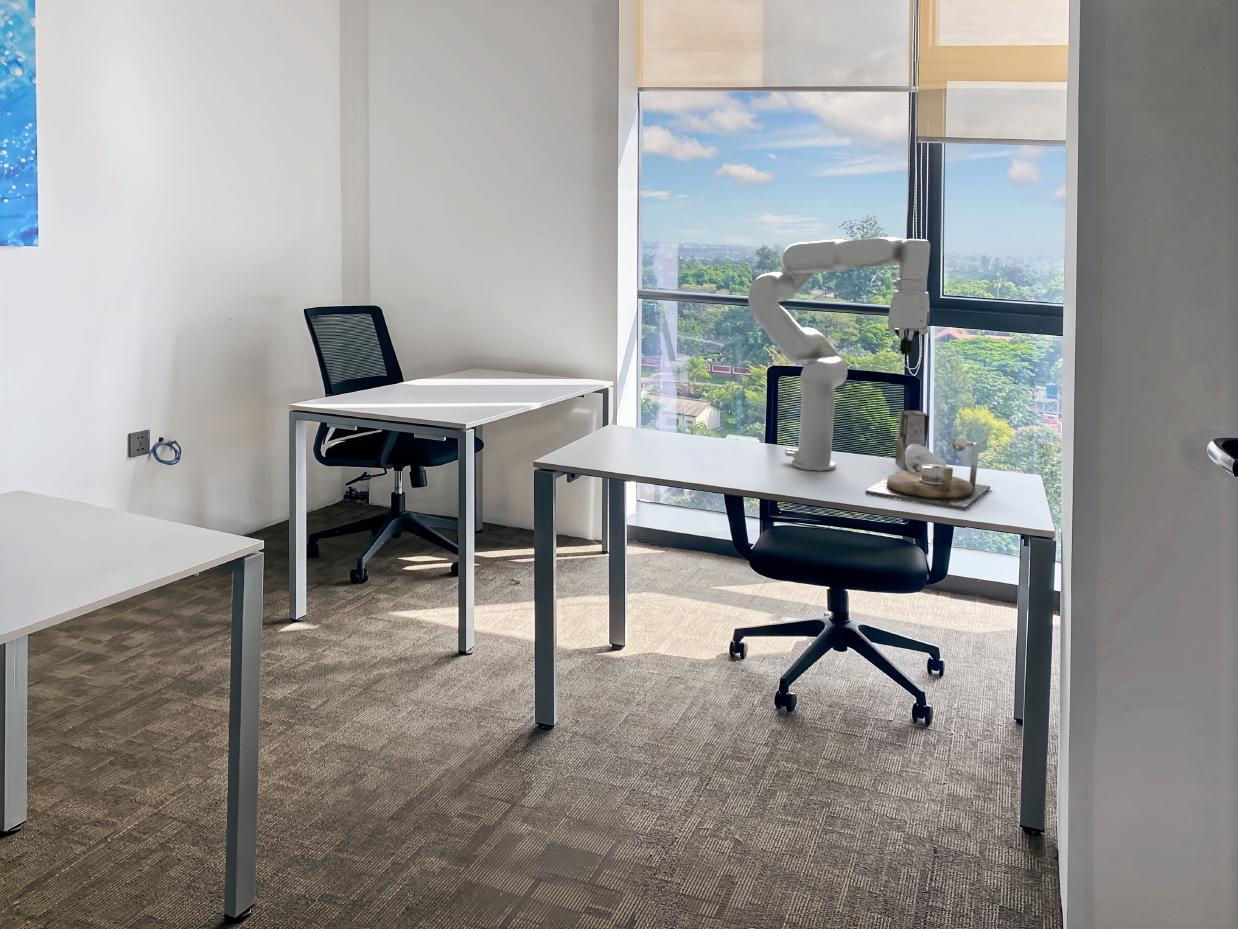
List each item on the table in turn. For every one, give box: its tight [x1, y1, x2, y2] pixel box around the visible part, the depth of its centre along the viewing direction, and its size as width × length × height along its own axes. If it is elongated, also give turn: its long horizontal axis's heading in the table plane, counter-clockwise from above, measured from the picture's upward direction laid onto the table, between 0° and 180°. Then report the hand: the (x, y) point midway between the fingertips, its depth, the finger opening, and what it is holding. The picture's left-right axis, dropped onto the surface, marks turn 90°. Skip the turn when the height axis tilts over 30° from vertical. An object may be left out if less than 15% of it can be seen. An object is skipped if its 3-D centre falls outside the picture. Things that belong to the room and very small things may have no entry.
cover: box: [919, 464, 947, 485], centre depth 278 cm, size 8×8×4 cm
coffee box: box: [894, 409, 930, 470], centre depth 306 cm, size 9×6×16 cm
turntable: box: [886, 466, 973, 498], centre depth 278 cm, size 22×22×7 cm
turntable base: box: [864, 437, 992, 511], centre depth 277 cm, size 26×26×14 cm
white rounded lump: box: [905, 444, 947, 472], centre depth 298 cm, size 6×8×12 cm
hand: (905, 354), depth 284 cm, fingers closed
